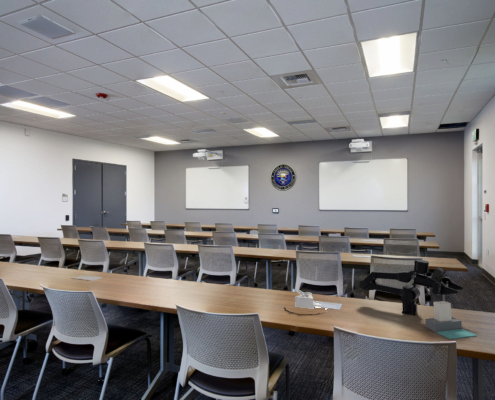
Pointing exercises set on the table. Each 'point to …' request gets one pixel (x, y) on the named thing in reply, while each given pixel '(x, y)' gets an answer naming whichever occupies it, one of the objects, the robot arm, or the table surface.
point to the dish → (306, 301)
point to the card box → (442, 311)
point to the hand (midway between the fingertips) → (460, 290)
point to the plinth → (443, 324)
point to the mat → (456, 334)
